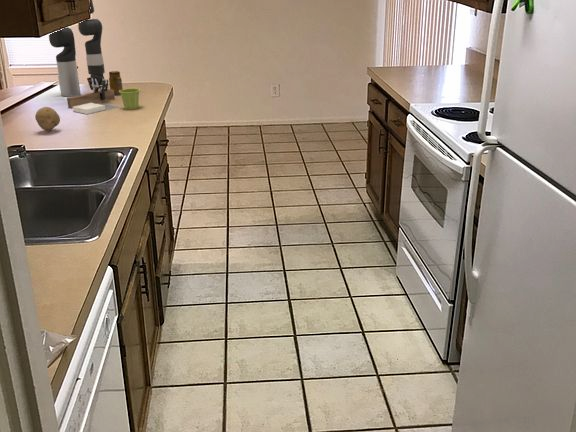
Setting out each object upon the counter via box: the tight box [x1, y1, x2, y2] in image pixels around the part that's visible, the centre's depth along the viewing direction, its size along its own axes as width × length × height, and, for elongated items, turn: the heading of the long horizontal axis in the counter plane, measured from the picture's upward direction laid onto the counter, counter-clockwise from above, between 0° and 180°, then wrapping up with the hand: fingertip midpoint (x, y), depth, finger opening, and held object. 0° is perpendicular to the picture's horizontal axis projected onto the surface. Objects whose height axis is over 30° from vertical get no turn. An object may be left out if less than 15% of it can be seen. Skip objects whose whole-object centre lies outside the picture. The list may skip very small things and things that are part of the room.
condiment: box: [108, 70, 124, 97], centre depth 310 cm, size 7×8×12 cm
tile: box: [72, 103, 105, 115], centre depth 279 cm, size 10×2×10 cm
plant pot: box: [119, 87, 141, 110], centre depth 283 cm, size 9×9×9 cm
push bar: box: [66, 88, 116, 110], centre depth 293 cm, size 4×24×5 cm, turn 143°
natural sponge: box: [35, 106, 61, 133], centre depth 248 cm, size 9×9×10 cm
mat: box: [91, 102, 120, 114], centre depth 284 cm, size 14×15×1 cm
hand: (100, 99), depth 297 cm, fingers closed on push bar, 3 cm apart
